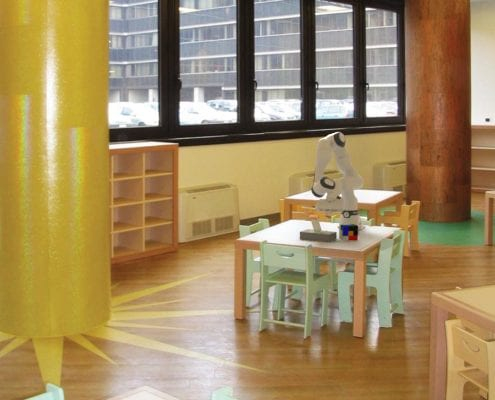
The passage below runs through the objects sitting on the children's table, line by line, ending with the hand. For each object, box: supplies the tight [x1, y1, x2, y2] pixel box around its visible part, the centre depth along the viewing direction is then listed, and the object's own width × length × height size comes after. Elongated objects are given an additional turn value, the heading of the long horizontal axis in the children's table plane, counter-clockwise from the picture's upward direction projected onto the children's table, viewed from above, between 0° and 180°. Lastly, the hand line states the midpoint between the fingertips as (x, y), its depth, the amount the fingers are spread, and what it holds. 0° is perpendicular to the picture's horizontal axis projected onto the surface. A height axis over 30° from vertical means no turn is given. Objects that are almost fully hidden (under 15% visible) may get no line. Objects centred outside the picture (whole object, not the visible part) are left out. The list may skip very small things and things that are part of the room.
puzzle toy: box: [338, 223, 359, 242], centre depth 566 cm, size 10×10×10 cm
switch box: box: [299, 228, 338, 243], centre depth 567 cm, size 12×22×5 cm, turn 59°
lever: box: [308, 213, 322, 232], centre depth 563 cm, size 3×6×13 cm
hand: (326, 215), depth 570 cm, fingers closed
